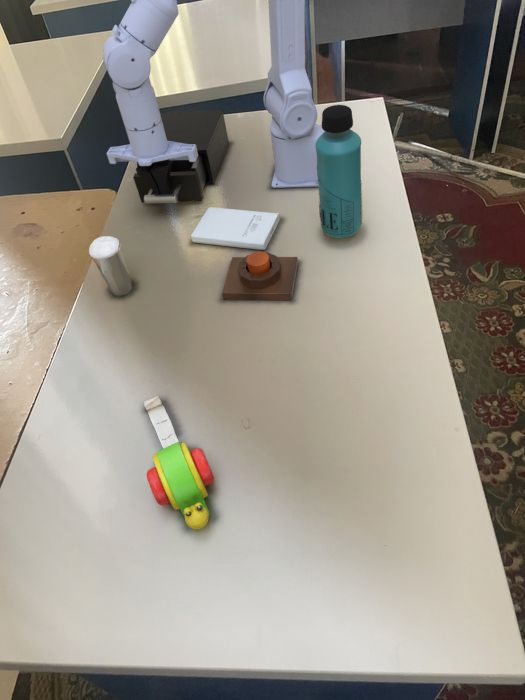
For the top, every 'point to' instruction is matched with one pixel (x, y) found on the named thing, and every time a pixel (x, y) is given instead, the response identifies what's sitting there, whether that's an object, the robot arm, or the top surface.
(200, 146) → the small drawer cabinet
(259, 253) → the release button
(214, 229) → the hard drive
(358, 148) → the beverage bottle
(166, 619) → the top surface
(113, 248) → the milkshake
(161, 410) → the toy measuring tape
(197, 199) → the black drawer
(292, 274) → the control block
